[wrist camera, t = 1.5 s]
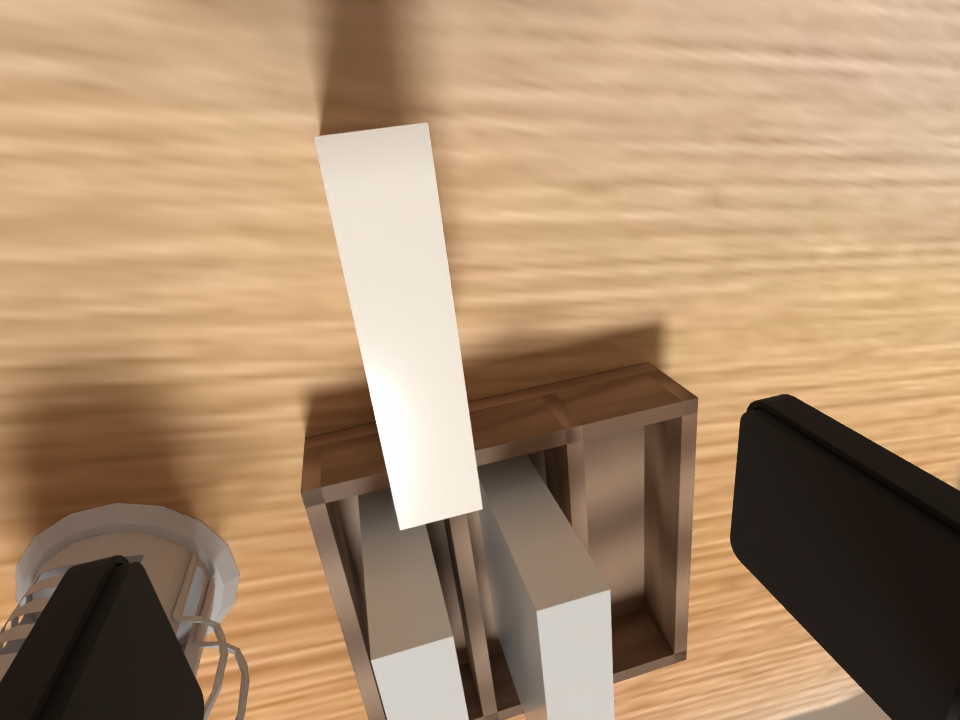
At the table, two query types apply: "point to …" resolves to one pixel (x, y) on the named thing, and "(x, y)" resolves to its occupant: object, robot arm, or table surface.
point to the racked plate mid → (545, 598)
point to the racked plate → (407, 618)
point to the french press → (168, 562)
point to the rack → (580, 495)
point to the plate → (404, 314)
